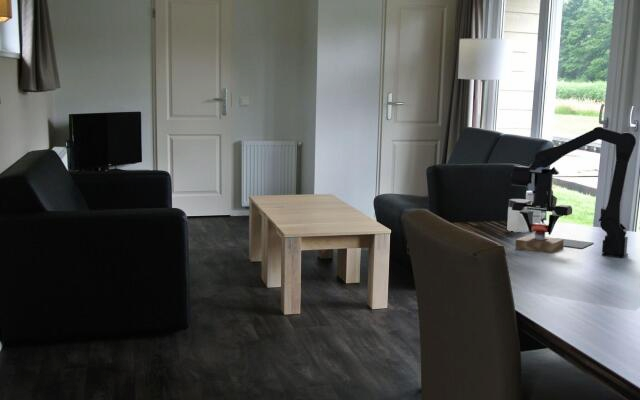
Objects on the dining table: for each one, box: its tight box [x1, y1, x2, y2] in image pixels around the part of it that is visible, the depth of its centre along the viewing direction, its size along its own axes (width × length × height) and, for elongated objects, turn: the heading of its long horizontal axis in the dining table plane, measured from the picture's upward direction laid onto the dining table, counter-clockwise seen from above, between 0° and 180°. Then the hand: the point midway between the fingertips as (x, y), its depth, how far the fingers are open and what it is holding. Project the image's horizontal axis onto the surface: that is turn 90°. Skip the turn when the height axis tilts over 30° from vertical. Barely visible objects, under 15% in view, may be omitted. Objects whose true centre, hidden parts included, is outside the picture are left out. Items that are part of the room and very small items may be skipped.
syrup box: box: [525, 190, 542, 224], centre depth 275 cm, size 6×6×14 cm
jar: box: [506, 198, 531, 233], centre depth 267 cm, size 9×8×12 cm
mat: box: [557, 237, 594, 250], centre depth 242 cm, size 13×13×1 cm
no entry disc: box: [531, 222, 549, 241], centre depth 233 cm, size 6×6×8 cm
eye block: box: [514, 234, 565, 254], centre depth 233 cm, size 12×12×3 cm
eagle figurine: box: [541, 211, 547, 224], centre depth 287 cm, size 8×7×9 cm
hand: (540, 233), depth 233 cm, fingers closed on no entry disc, 6 cm apart
